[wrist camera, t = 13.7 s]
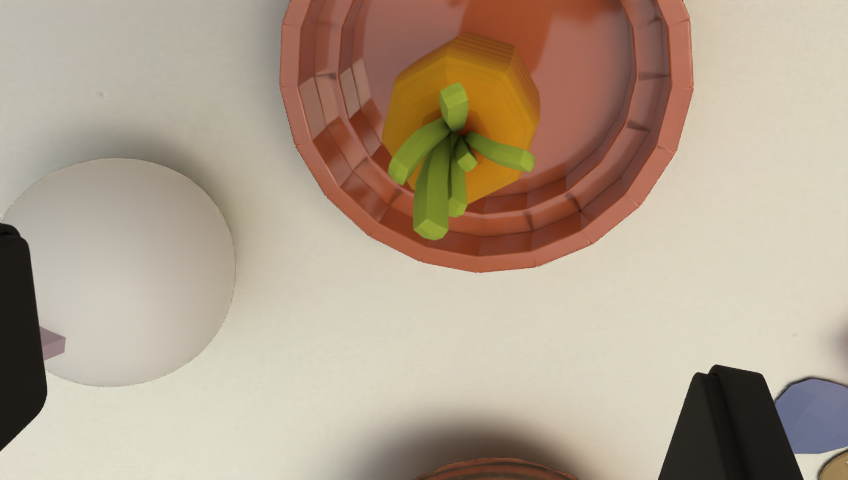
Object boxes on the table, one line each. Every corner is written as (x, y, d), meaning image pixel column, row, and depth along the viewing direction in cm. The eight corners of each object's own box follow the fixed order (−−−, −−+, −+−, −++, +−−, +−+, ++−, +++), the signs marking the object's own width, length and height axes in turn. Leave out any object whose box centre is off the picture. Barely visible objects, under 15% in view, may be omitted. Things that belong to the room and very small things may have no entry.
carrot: (479, -21, 31) (412, 38, 18) (572, 55, 32) (576, 169, 18) (409, 74, 33) (302, 192, 20) (497, 144, 34) (452, 304, 20)
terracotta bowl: (329, -160, 31) (288, -170, 26) (720, -109, 29) (749, -111, 25) (308, 195, 37) (272, 235, 33) (625, 252, 36) (634, 303, 31)
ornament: (98, 305, 42) (-63, 443, 31) (63, 127, 38) (-136, 216, 27) (273, 321, 41) (167, 473, 30) (257, 138, 36) (127, 236, 26)
